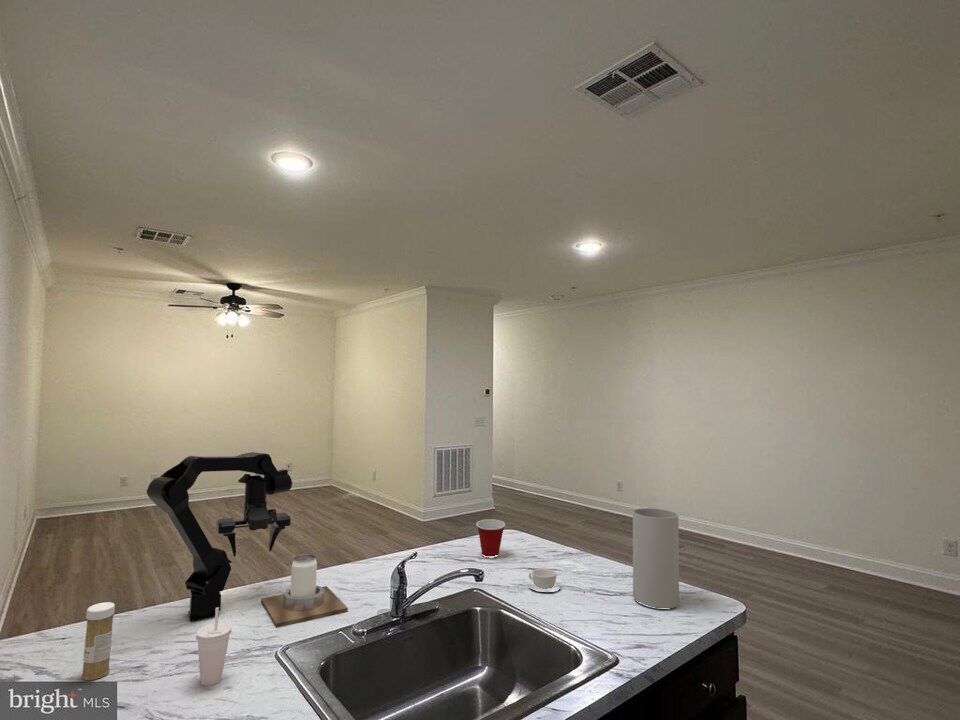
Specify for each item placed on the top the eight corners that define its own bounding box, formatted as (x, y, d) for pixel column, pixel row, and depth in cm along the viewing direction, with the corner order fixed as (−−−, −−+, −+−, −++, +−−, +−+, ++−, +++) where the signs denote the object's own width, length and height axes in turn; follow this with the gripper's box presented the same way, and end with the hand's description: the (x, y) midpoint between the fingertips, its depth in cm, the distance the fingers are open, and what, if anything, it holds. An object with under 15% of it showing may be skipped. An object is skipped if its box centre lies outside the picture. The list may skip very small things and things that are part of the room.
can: (305, 609, 131) (308, 562, 132) (284, 606, 133) (286, 559, 134) (319, 600, 137) (321, 555, 138) (299, 597, 139) (301, 552, 140)
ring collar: (289, 613, 128) (289, 601, 129) (279, 600, 137) (280, 589, 137) (328, 605, 134) (328, 594, 134) (316, 593, 142) (317, 582, 142)
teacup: (565, 586, 155) (565, 571, 155) (552, 597, 146) (552, 580, 147) (536, 580, 160) (536, 565, 160) (521, 589, 151) (522, 573, 152)
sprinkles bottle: (78, 675, 100) (84, 606, 101) (106, 666, 104) (111, 599, 105) (84, 684, 97) (90, 612, 98) (112, 674, 101) (118, 605, 102)
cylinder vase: (664, 614, 135) (664, 520, 137) (624, 600, 145) (624, 511, 147) (687, 603, 144) (686, 514, 145) (647, 590, 153) (647, 506, 155)
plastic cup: (472, 560, 178) (473, 525, 179) (477, 551, 188) (478, 518, 189) (503, 562, 176) (503, 527, 177) (506, 553, 187) (507, 520, 188)
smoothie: (204, 693, 95) (208, 617, 96) (185, 682, 99) (190, 608, 100) (235, 677, 101) (239, 605, 102) (217, 668, 104) (221, 598, 105)
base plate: (276, 627, 123) (276, 623, 123) (260, 602, 138) (261, 598, 138) (347, 611, 133) (347, 607, 133) (326, 589, 148) (326, 586, 148)
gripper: (222, 506, 131) (219, 567, 130) (296, 499, 141) (293, 556, 140) (217, 498, 140) (213, 556, 139) (287, 492, 150) (284, 546, 149)
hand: (252, 553), depth 141 cm, fingers open, 9 cm apart
